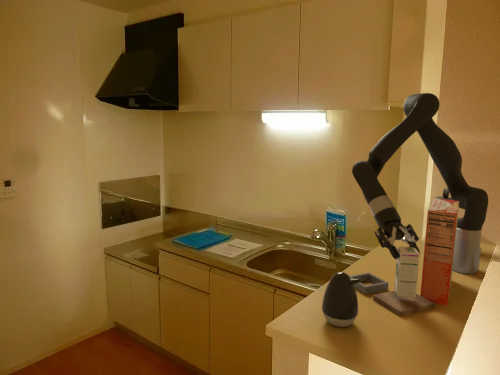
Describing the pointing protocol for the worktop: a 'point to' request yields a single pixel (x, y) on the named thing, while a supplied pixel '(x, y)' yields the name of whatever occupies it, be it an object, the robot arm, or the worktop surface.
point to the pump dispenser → (340, 300)
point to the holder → (376, 287)
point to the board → (403, 303)
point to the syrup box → (407, 272)
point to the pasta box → (439, 250)
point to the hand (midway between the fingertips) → (407, 256)
